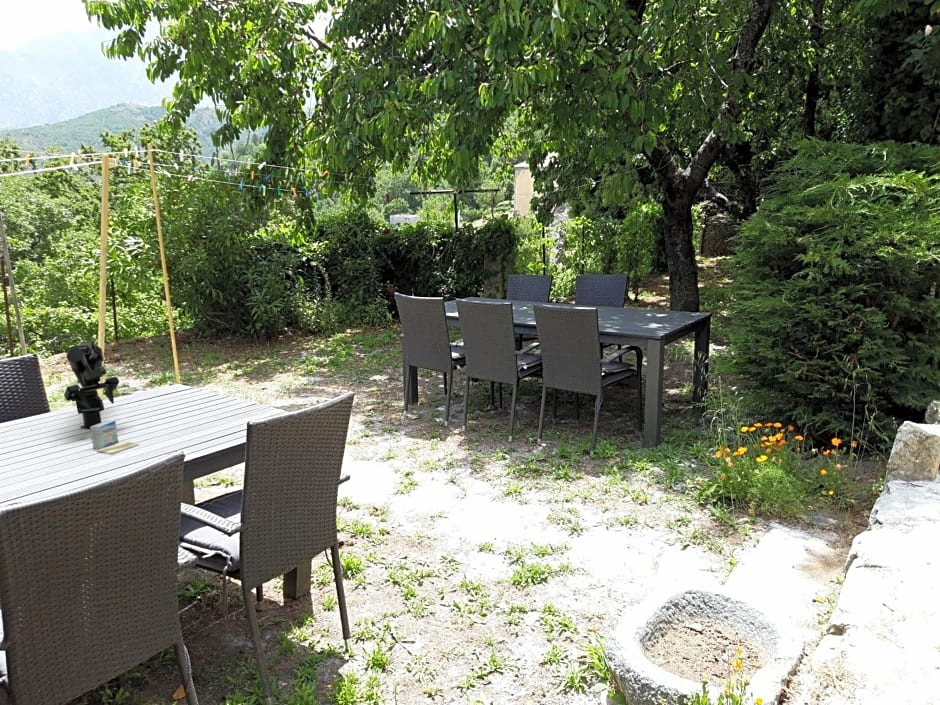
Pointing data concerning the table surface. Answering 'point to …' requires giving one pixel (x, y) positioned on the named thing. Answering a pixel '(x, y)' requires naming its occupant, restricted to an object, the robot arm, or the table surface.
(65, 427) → the table surface
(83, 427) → the robot arm
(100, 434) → the medicine box
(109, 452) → the pad
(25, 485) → the table surface
